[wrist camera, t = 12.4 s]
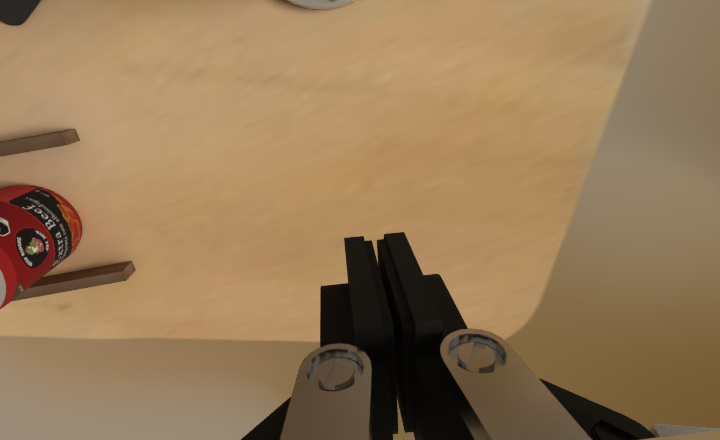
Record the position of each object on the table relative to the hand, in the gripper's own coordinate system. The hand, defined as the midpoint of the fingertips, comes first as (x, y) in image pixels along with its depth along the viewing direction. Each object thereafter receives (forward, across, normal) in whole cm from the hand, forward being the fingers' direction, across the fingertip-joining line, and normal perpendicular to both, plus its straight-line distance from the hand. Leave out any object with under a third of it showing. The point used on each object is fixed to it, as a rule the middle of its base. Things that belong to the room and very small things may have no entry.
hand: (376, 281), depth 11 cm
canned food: (+27, +28, +7) cm, 40 cm away
